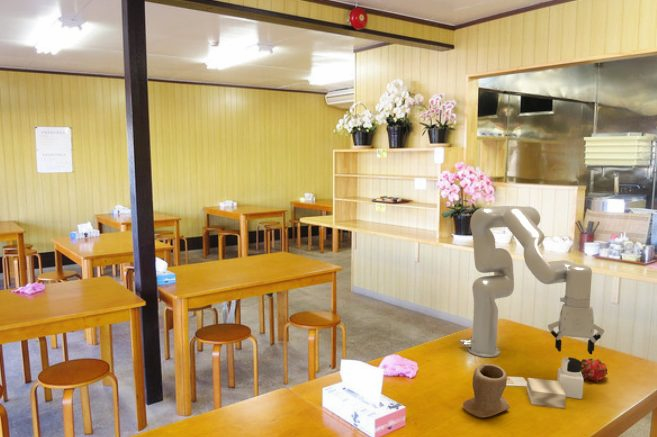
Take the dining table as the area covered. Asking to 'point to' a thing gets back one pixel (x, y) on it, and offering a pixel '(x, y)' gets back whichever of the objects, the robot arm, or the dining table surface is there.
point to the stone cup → (487, 391)
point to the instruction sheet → (516, 381)
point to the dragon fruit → (593, 369)
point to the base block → (545, 393)
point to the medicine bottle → (571, 377)
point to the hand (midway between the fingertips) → (574, 351)
